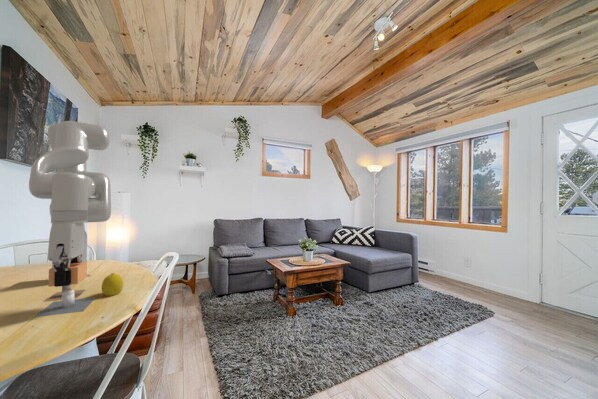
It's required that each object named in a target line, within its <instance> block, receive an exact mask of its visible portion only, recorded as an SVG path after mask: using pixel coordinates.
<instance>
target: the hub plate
mask: <svg viewBox="0 0 598 399" xmlns="http://www.w3.org/2000/svg"><path fill="white" fill-rule="evenodd" d="M74 291H75V289H73V288H71V289H66V290H65V291H63V293H62V300H56V301H52V302H51V304H49V305H48V306H46V307H45V308H44V309H42V310H41V311H40V312H38V313H37V314H35V315H34V316H33V318H38V317H39V318H41V317H47V316H54V315H55V316H56V315H62V314H71V313H79V312H84V311H85V310H86V309H87V308H88V307H89V306H90V305H91V304H92V302H94V301H95V299H97V296H96V297H87V298H78V299H77V298H74V293H75V292H74Z"/></svg>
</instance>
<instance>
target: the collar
mask: <svg viewBox="0 0 598 399" xmlns="http://www.w3.org/2000/svg"><path fill="white" fill-rule="evenodd" d="M87 262H88V261H87ZM87 262H85V263H70V268H69V270H71V284H70V285H71V286H72V285H79V283H81V282H83V281H84V280H85V279H86V278H87V277H86V275H87V271H86V264H88V263H87ZM65 265H66V264H65ZM54 276H55V272H54V267H53V268H52V267H51V268H49V269H48V287H55V286H54Z"/></svg>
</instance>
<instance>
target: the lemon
mask: <svg viewBox="0 0 598 399" xmlns="http://www.w3.org/2000/svg"><path fill="white" fill-rule="evenodd" d="M123 288H124V280H123V277H122V276H121V275H120V274H117V273H114V272H113V273H112V272H111V274H109V275H106V277H104V279H103V280H102V284H101V293H102V295H104V296H105V297H112V296H117V295H119V294H120V293H121V292H122V291H123Z"/></svg>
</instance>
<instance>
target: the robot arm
mask: <svg viewBox="0 0 598 399" xmlns="http://www.w3.org/2000/svg"><path fill="white" fill-rule="evenodd" d="M47 137H48V143H49V145H50V148H51V150H50V151H47V152H46V153H44V154H42V155H40V156H39V157H38V158H37V159H36V160H34V162H33V163H32V165H31V168H30V174H29V179H28V189H29V193H30V194H31V195H32V196H33V197H35V198H37V199H42V200H43V199H44V200H51V201H50V205H49V216H50V223H51V227H50V232H49V236H48V237H49V238H48V248H47V249H48V251H47V260H48V261H50V262H51V268H53V267H54V272H55V276H54V286H53V287H56V288H57V287H62V286H69V285H70V284H71V270H69V268H70V263H85V262H88V258H87V257H88V234H87V231H86V229H85V223H102V222H106V221H108V220H109V219H111V216H112V197H111V196H112V194H111V191H112V190H111V181H110V178H109V176H108V175H107V174H105V173H102V172H96V171H95V172H94V171H87V162H88V160H89V156H90V155H89V154H90V153H89V150H94V151H105V150H107V148H108V147H109V146H110V145H109V144H110V133H109V131H108V130H107V128H105V127H104V126H101V125H98V124H92V123H86V122H81V121H80V122H79V121H74V120H73V121H72V120H64V121H61V122H59V123H53V124H50V125H49V126H48V128H47ZM55 171H56V172H55ZM54 172H55V173H54ZM65 264H66V265H65ZM87 264H88V263H87ZM87 264H86V272H87V268H88V265H87ZM87 277H92V275H90V274H86V278H87ZM71 285H72V284H71Z"/></svg>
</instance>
